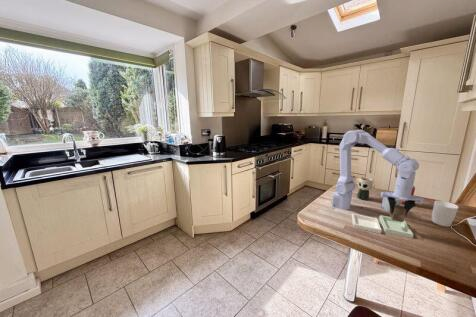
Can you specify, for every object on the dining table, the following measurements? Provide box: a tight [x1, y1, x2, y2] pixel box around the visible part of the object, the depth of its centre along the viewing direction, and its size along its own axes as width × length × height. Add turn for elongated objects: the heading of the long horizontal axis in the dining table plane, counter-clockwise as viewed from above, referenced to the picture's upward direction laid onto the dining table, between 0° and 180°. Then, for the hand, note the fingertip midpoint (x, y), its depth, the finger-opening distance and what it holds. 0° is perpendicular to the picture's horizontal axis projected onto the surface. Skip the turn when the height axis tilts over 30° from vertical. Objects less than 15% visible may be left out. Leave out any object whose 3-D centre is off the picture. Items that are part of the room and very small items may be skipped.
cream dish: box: [351, 213, 383, 235], centre depth 92 cm, size 11×11×2 cm
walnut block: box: [389, 204, 406, 222], centre depth 87 cm, size 4×4×6 cm
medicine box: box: [381, 197, 401, 214], centre depth 104 cm, size 8×4×9 cm, turn 168°
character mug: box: [355, 176, 376, 201], centre depth 119 cm, size 11×7×13 cm, turn 29°
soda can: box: [400, 184, 416, 206], centre depth 112 cm, size 6×6×12 cm
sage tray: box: [378, 214, 414, 239], centre depth 89 cm, size 10×13×2 cm
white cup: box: [430, 200, 460, 228], centre depth 93 cm, size 8×8×10 cm
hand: (397, 213), depth 87 cm, fingers closed on walnut block, 4 cm apart
